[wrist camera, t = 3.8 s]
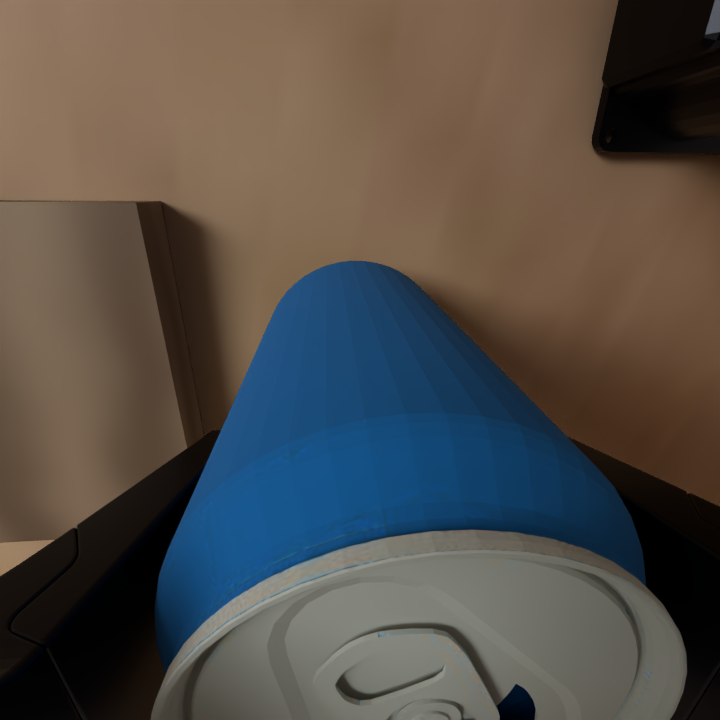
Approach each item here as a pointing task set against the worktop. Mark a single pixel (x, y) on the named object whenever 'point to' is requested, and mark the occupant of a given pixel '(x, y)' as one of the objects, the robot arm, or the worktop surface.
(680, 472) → the worktop surface
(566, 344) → the worktop surface
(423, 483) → the beverage can
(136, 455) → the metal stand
